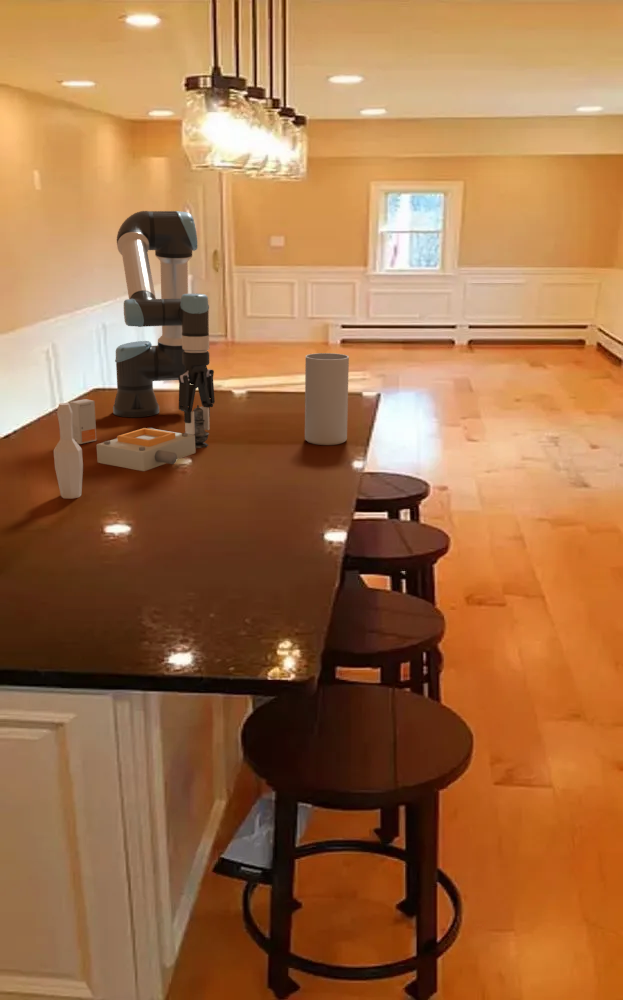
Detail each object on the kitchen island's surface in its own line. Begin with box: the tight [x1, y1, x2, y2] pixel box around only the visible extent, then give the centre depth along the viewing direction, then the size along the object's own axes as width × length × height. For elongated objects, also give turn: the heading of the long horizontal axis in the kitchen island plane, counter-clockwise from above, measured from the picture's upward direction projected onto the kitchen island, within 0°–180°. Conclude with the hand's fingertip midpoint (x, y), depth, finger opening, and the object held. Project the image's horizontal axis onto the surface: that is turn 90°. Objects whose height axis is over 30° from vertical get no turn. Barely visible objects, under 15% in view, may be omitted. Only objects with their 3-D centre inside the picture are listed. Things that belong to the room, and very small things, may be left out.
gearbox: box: [95, 427, 197, 472], centre depth 238 cm, size 22×21×6 cm
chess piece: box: [189, 404, 210, 449], centre depth 251 cm, size 6×6×12 cm
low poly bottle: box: [53, 402, 84, 499], centre depth 203 cm, size 6×6×22 cm
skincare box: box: [68, 398, 97, 445], centre depth 254 cm, size 6×4×12 cm
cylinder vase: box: [304, 352, 350, 446], centre depth 257 cm, size 12×12×25 cm
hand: (197, 431), depth 251 cm, fingers open, 6 cm apart
